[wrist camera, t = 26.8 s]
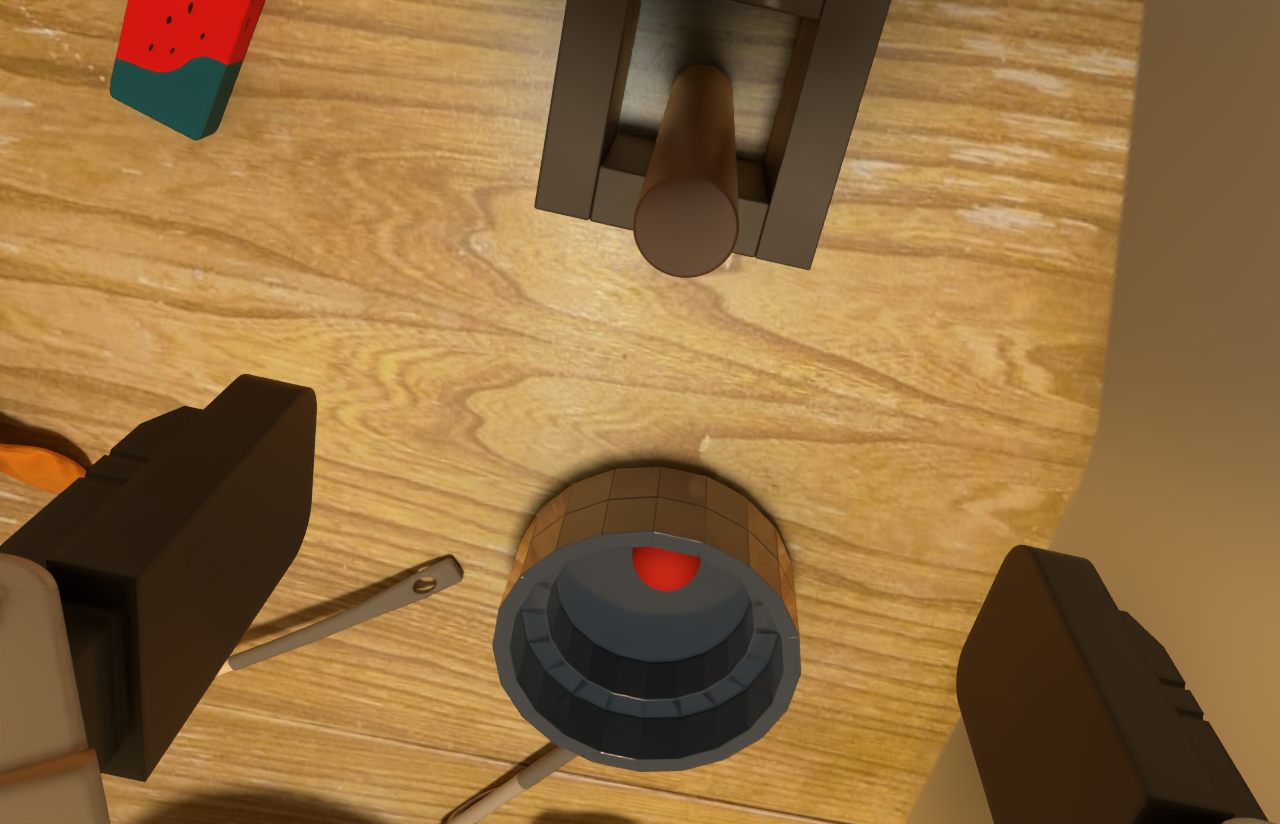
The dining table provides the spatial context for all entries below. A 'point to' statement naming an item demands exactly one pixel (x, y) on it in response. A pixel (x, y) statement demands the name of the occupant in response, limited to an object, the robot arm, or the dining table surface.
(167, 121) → the popsicle
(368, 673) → the dining table surface
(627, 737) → the dark grey round dish
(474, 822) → the pen
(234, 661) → the ladle
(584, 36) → the holder
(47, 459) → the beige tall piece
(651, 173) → the stick
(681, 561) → the bead
